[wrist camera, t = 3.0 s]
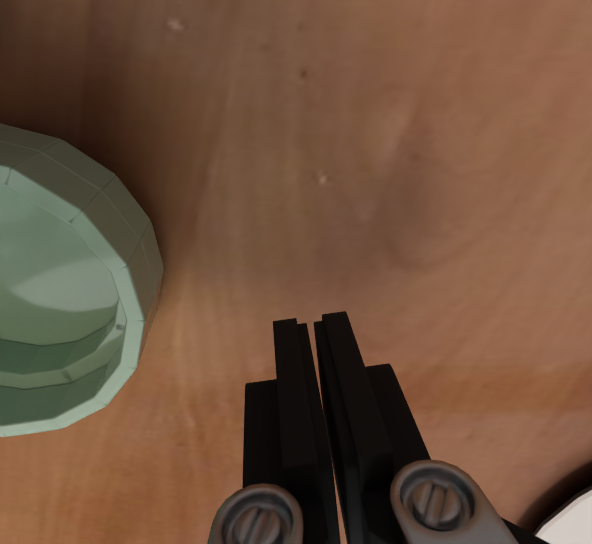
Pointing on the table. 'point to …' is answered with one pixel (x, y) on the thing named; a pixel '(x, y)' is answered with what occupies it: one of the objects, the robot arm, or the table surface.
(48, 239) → the celadon bowl
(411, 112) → the table surface
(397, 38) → the table surface
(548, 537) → the plate
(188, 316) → the table surface
